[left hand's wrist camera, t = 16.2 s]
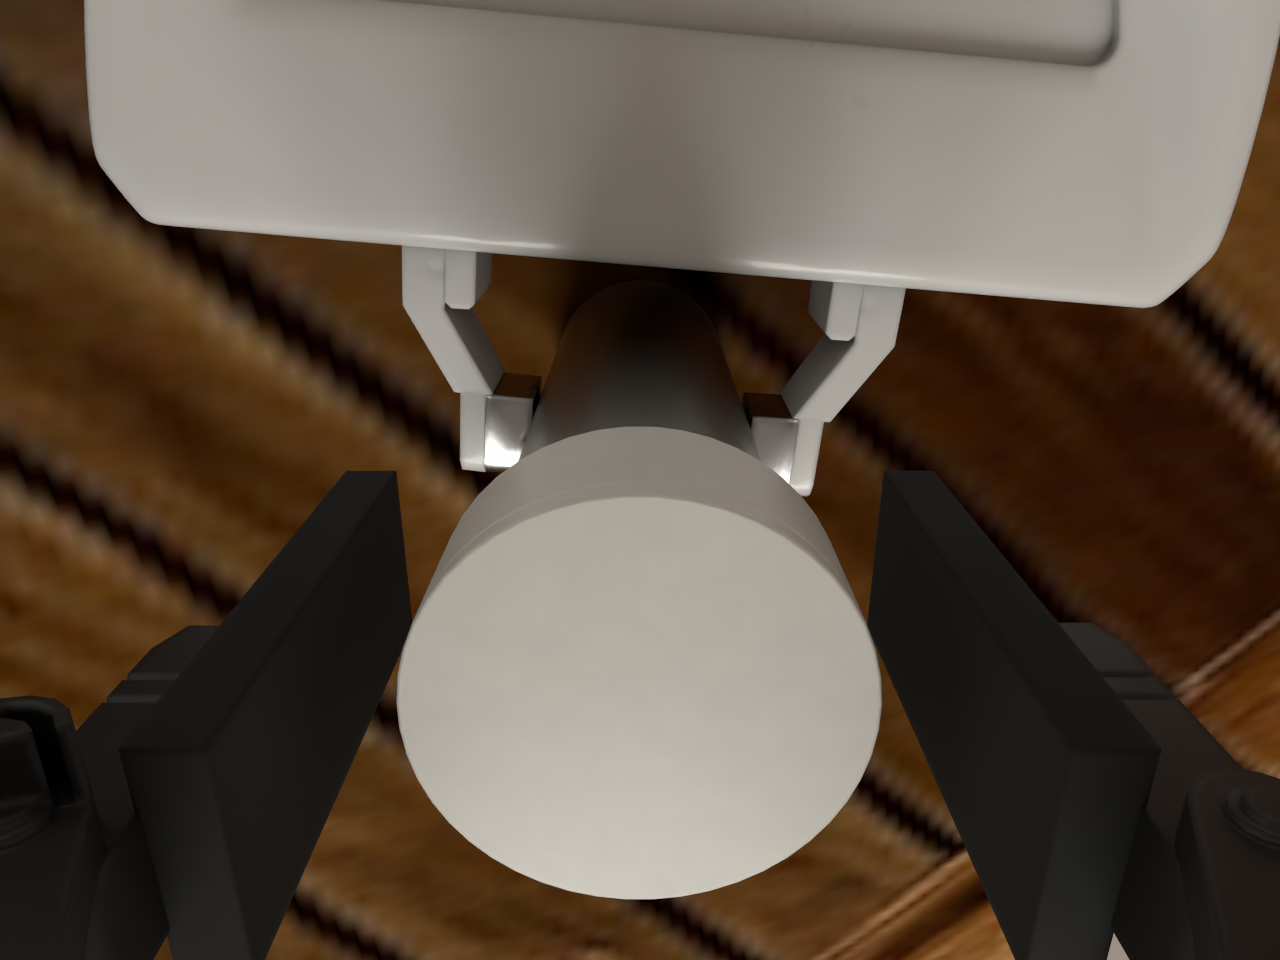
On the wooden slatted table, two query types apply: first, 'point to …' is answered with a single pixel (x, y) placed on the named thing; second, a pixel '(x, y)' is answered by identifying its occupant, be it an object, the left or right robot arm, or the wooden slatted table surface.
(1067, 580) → the wooden slatted table surface
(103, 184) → the wooden slatted table surface
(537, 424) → the metal cylinder
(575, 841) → the lid
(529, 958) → the wooden slatted table surface
